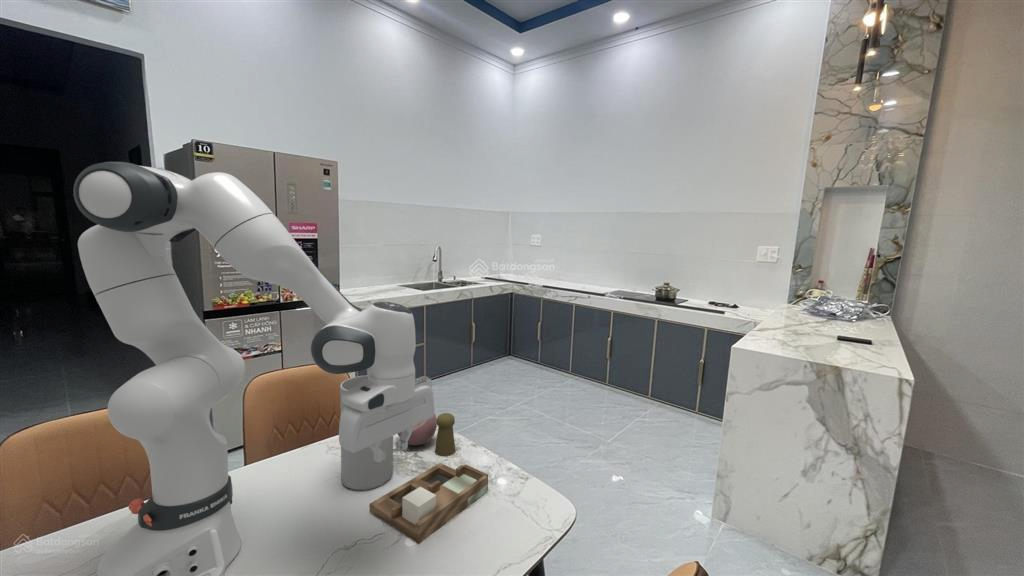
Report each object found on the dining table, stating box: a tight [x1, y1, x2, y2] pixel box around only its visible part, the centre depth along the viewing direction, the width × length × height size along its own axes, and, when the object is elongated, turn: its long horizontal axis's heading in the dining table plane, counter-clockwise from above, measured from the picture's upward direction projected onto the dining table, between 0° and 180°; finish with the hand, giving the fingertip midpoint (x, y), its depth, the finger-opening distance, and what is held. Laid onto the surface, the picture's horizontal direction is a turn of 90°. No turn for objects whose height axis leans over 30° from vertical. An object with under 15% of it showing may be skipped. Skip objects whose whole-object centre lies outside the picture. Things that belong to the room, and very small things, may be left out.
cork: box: [434, 412, 456, 457], centre depth 119 cm, size 6×6×11 cm
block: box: [402, 487, 436, 525], centre depth 88 cm, size 5×5×4 cm
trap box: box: [369, 462, 489, 545], centre depth 96 cm, size 23×16×4 cm
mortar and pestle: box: [397, 412, 438, 446], centre depth 123 cm, size 12×12×11 cm
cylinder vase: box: [339, 375, 394, 491], centre depth 104 cm, size 12×12×25 cm
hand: (391, 454), depth 80 cm, fingers open, 4 cm apart
